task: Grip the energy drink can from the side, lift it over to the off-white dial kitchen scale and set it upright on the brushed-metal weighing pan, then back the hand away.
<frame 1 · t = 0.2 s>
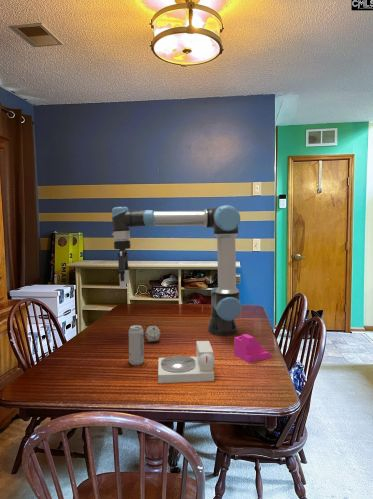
hand: (124, 285, 164), 28 cm above the table, tool pointing down, fingers open, 13 cm apart
bracket: (252, 356, 150), on the table
energy drink can: (136, 363, 143), on the table
scale pan: (178, 363, 133), point 4 cm above the table, slide at -0.3 cm
grey rounded lump: (152, 342, 168), on the table
scale: (184, 372, 133), on the table
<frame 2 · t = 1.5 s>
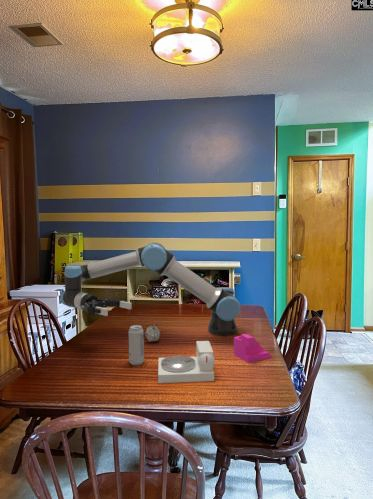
hand: (119, 309, 147), 21 cm above the table, tool horizontal, fingers open, 13 cm apart
nothing on the table moved.
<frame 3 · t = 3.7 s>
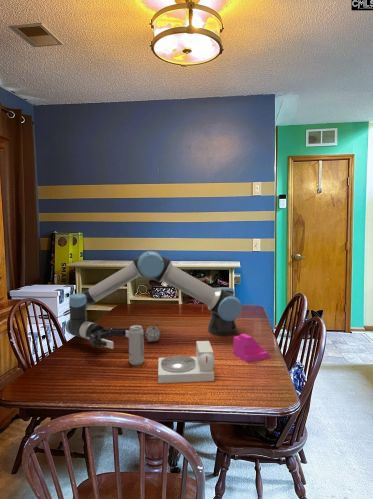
hand: (125, 340, 145), 8 cm above the table, tool horizontal, fingers open, 13 cm apart
nothing on the table moved.
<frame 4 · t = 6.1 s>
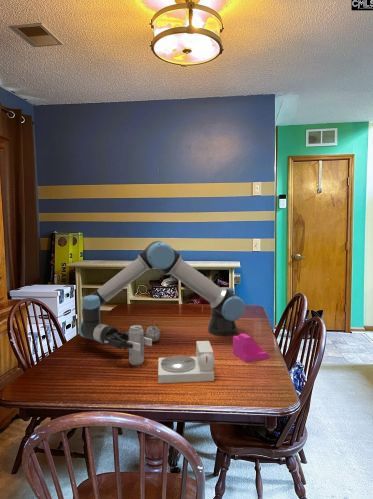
hand: (145, 345, 139), 9 cm above the table, tool horizontal, fingers closed on energy drink can, 6 cm apart
energy drink can: (136, 363, 143), on the table, touching gripper
everything else where it was.
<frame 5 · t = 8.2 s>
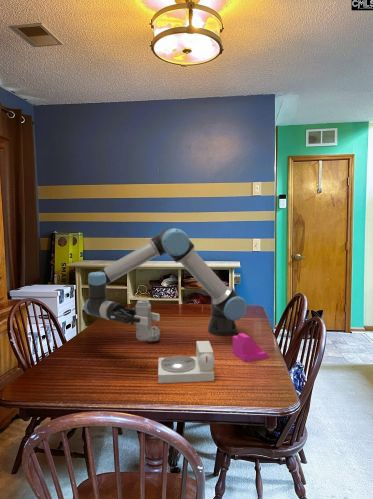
hand: (153, 319, 135), 20 cm above the table, tool horizontal, fingers closed on energy drink can, 6 cm apart
energy drink can: (143, 339, 139), point 11 cm above the table, touching gripper
when the fingers open (14 cm above the table, at t = 10.4 s): energy drink can drops 2 cm, resting on scale pan.
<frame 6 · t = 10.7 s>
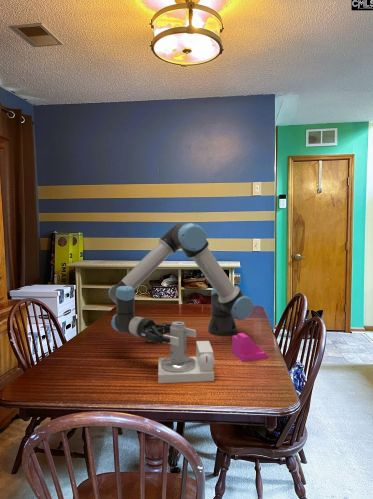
hand: (187, 337, 130), 14 cm above the table, tool horizontal, fingers open, 10 cm apart
energy drink can: (178, 362, 133), point 4 cm above the table, touching scale pan
scale pan: (178, 363, 133), point 4 cm above the table, slide at -0.3 cm, touching energy drink can, scale
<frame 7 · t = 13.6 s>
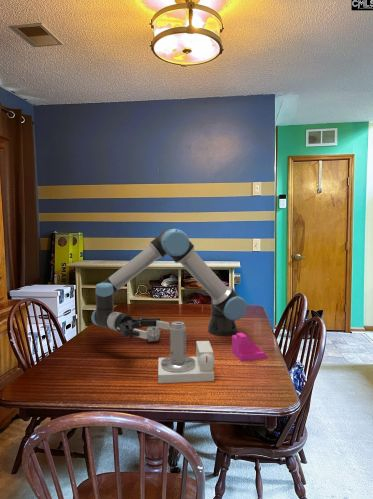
hand: (158, 330, 138), 15 cm above the table, tool horizontal, fingers open, 13 cm apart
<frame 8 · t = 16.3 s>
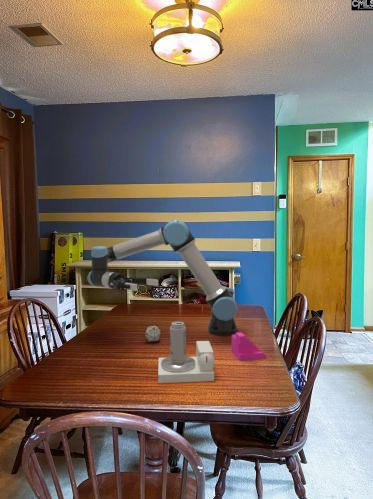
hand: (147, 285, 152), 30 cm above the table, tool horizontal, fingers open, 13 cm apart
at the end: energy drink can inside the target area on the scale (0.0 cm from its centre), point 4.0 cm above the scale's base; energy drink can tilted 0°; the gripper is holding nothing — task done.
